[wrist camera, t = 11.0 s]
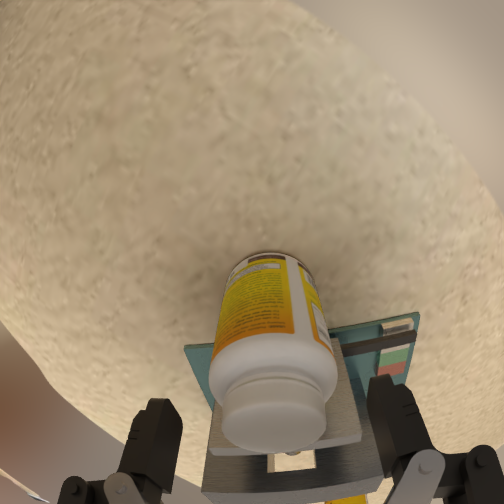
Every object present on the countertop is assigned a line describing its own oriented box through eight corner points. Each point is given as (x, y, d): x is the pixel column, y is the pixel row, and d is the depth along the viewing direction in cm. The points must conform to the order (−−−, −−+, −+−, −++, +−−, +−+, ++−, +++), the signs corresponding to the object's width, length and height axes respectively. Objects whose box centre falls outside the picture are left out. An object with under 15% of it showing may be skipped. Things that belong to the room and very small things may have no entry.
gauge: (184, 345, 21) (152, 457, 13) (418, 311, 19) (475, 411, 11) (216, 416, 25) (204, 505, 17) (400, 390, 23) (430, 474, 15)
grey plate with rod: (222, 351, 20) (208, 447, 13) (411, 322, 19) (455, 405, 12) (244, 413, 24) (239, 491, 17) (396, 390, 22) (421, 462, 15)
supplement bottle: (211, 301, 19) (178, 438, 10) (253, 232, 17) (243, 367, 8) (283, 334, 20) (291, 468, 11) (331, 274, 18) (378, 411, 9)
